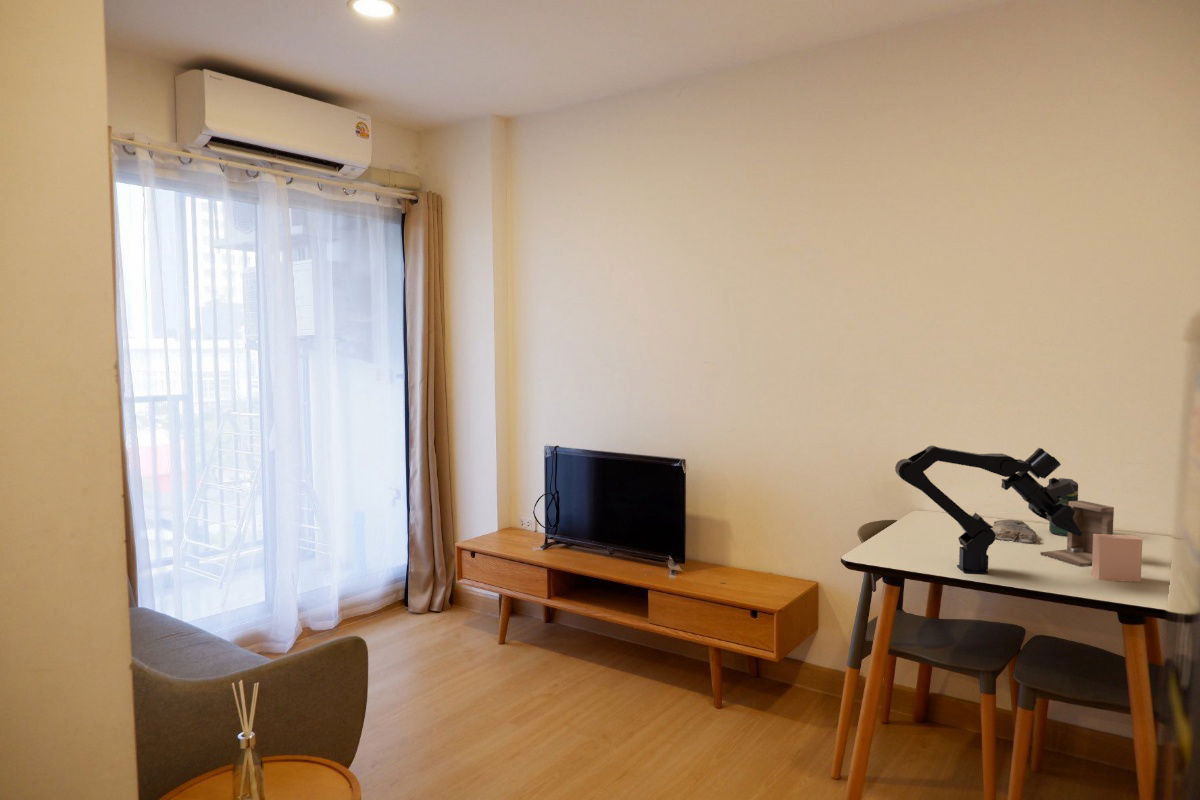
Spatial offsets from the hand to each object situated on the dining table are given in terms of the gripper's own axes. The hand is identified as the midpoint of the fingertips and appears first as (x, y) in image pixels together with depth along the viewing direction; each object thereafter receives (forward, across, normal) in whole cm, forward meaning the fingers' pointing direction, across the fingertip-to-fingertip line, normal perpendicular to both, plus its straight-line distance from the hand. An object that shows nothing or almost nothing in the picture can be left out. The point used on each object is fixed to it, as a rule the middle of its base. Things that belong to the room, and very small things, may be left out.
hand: (1073, 531), depth 205 cm
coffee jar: (+20, +53, -2) cm, 57 cm away
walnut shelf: (+15, +19, +3) cm, 25 cm away
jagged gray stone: (+8, +46, +10) cm, 48 cm away
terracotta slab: (+16, 0, +1) cm, 16 cm away
